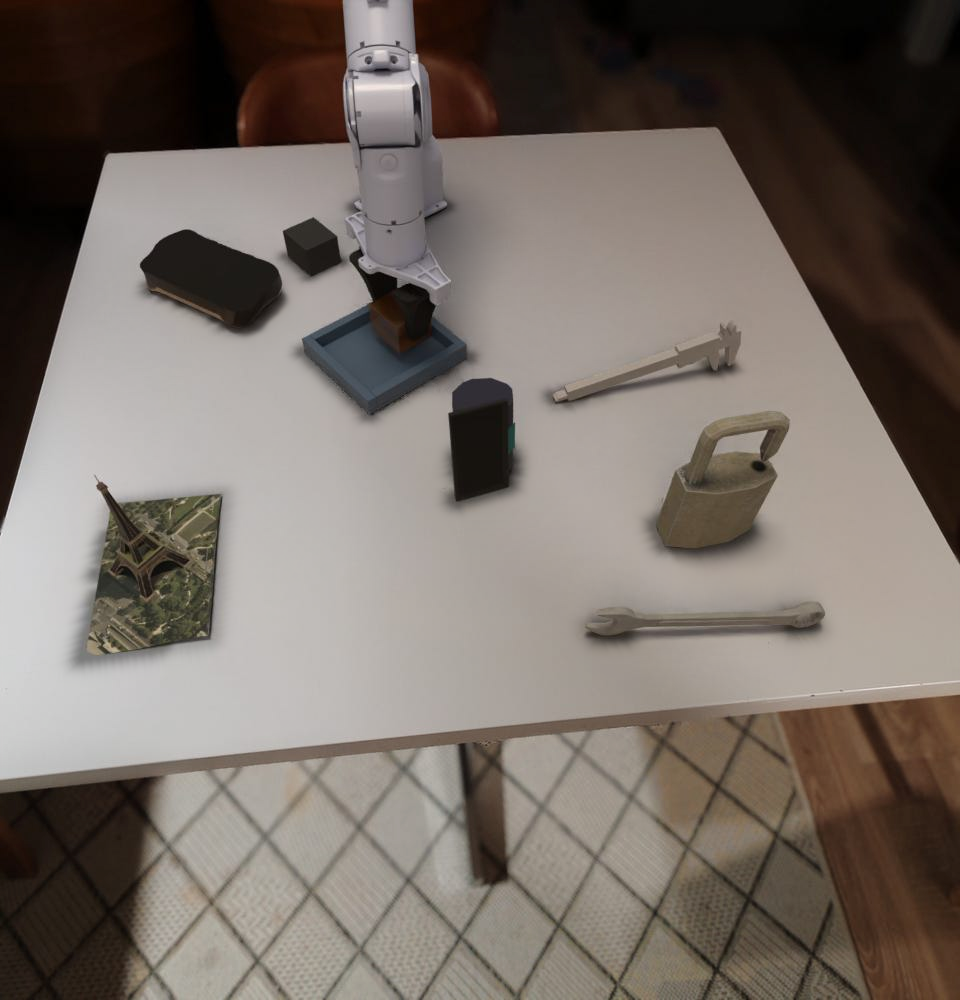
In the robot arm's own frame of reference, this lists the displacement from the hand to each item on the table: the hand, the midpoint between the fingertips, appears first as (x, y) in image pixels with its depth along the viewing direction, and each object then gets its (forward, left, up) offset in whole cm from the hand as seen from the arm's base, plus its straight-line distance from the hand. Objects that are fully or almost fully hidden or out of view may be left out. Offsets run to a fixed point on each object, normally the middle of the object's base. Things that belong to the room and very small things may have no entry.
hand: (402, 322), depth 82 cm
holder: (+2, 0, -3) cm, 4 cm away
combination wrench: (+2, +43, -3) cm, 43 cm away
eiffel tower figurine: (+34, +9, -3) cm, 35 cm away
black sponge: (+11, -21, -3) cm, 24 cm away
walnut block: (0, 0, -1) cm, 1 cm away
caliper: (-16, +21, -3) cm, 27 cm away
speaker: (+5, +18, -3) cm, 19 cm away
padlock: (-6, +37, -3) cm, 38 cm away
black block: (-1, -19, -3) cm, 19 cm away
